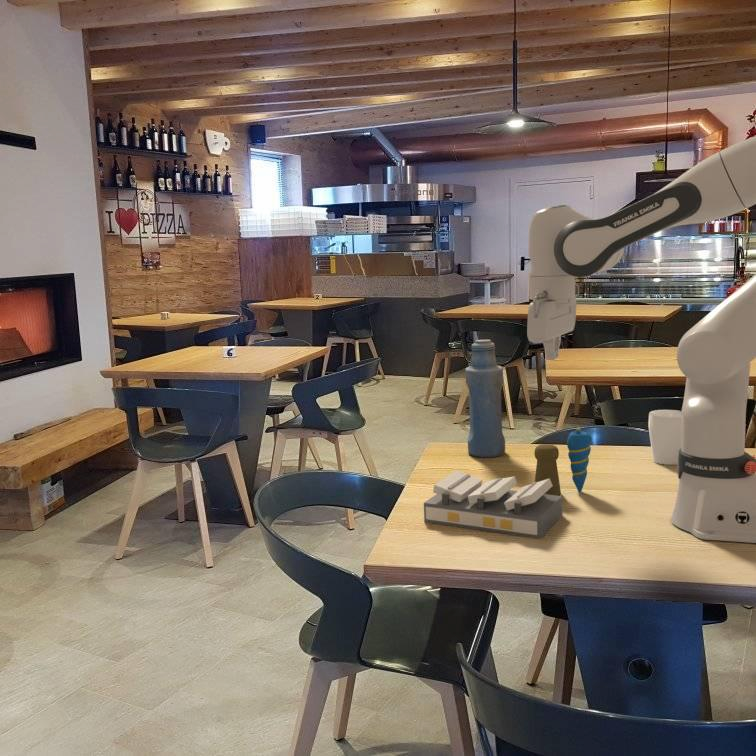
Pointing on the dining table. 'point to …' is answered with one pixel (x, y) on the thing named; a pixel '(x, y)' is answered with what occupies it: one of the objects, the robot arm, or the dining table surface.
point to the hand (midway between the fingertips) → (552, 359)
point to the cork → (547, 467)
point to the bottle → (485, 402)
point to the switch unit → (496, 514)
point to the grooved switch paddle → (458, 485)
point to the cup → (665, 435)
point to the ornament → (579, 455)
